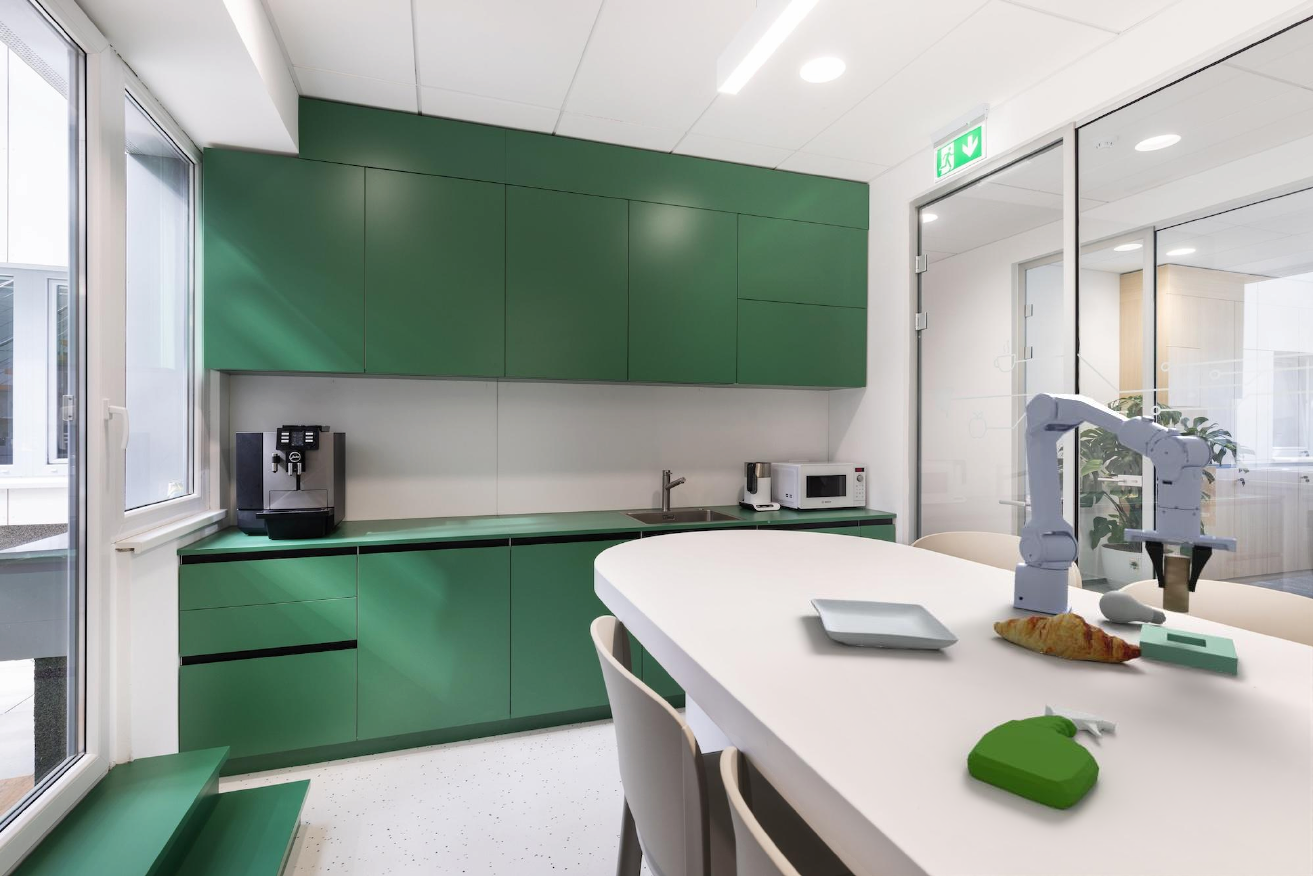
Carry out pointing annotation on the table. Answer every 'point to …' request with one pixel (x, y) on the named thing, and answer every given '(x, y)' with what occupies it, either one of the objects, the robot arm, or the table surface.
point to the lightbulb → (1128, 609)
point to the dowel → (1176, 583)
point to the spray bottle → (1040, 757)
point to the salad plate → (882, 624)
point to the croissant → (1067, 638)
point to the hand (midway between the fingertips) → (1176, 588)
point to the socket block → (1189, 649)
